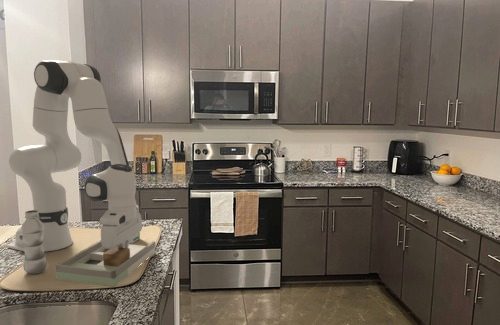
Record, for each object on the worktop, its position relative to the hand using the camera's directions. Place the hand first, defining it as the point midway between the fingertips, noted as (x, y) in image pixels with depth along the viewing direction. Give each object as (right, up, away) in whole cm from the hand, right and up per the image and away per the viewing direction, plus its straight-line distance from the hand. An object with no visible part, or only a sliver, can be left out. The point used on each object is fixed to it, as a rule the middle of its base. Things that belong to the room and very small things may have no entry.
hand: (124, 252), depth 127 cm
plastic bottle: (-26, -5, -7) cm, 27 cm away
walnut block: (-1, -2, -4) cm, 5 cm away
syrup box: (-6, -1, +23) cm, 24 cm away
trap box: (-4, -4, -1) cm, 6 cm away
